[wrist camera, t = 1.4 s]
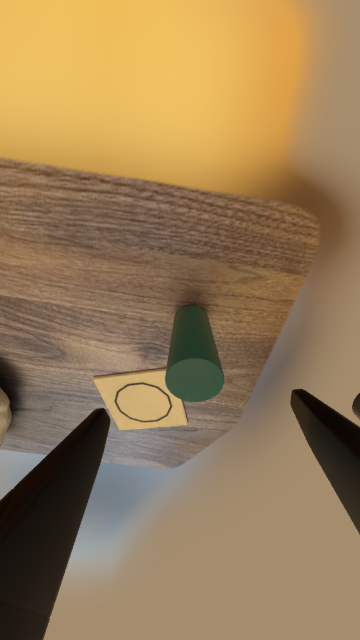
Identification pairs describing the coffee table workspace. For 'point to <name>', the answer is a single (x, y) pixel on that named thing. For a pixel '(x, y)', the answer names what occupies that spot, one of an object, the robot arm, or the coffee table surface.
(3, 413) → the decorative stone
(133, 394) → the sketch card
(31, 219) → the coffee table surface
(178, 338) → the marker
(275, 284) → the coffee table surface
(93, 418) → the robot arm
